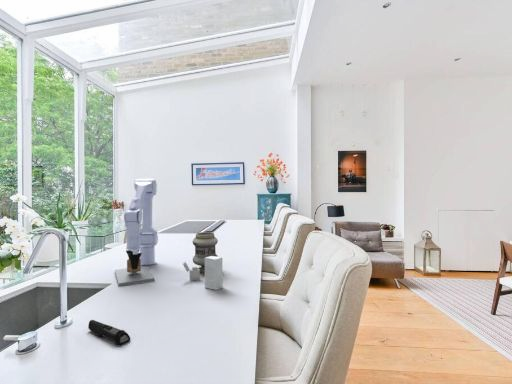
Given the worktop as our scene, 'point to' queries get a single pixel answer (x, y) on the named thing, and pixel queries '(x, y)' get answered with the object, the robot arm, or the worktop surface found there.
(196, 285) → the worktop surface
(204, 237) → the apothecary jar
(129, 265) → the walnut bead
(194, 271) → the lighter
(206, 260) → the skincare box
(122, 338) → the electric trimmer
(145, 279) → the grey peg base
